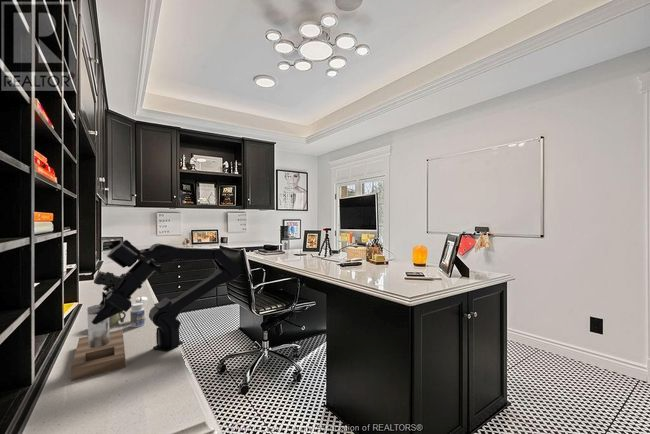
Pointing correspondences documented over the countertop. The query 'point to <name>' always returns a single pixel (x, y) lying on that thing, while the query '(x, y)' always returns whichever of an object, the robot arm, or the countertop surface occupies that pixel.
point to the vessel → (116, 320)
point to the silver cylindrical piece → (97, 328)
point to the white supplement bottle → (144, 301)
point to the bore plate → (98, 357)
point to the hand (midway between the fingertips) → (92, 321)
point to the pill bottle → (137, 315)
